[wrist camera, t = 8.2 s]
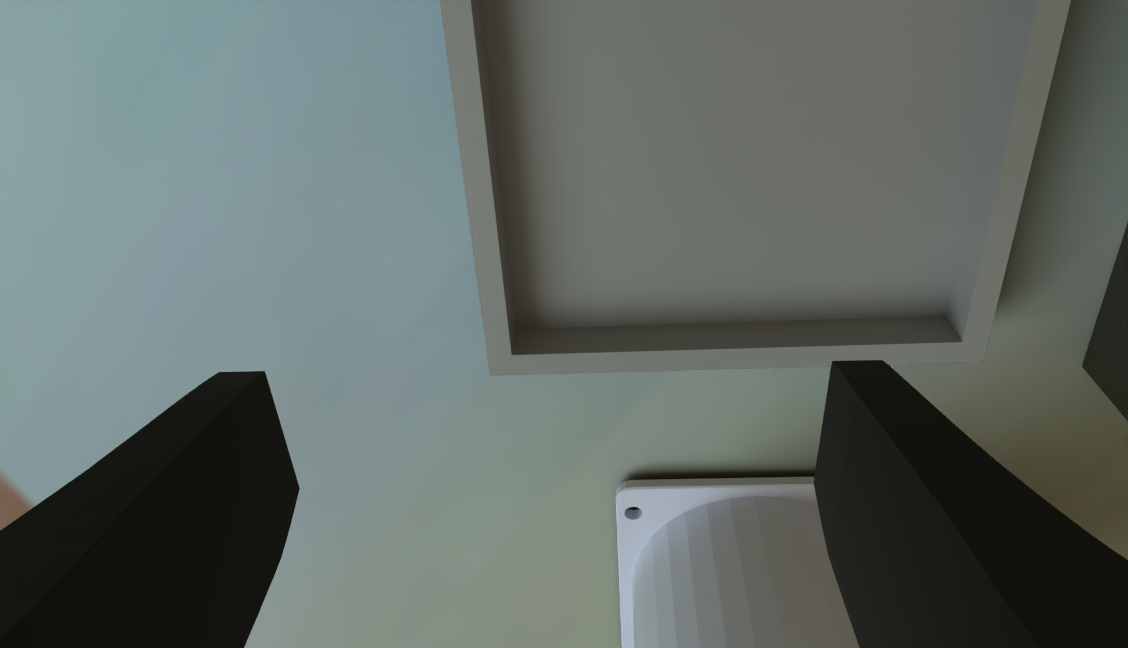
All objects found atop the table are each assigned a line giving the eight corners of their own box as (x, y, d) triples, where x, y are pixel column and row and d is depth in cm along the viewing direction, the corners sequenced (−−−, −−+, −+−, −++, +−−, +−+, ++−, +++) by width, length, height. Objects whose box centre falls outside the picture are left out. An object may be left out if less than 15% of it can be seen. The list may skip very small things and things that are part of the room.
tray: (956, 322, 22) (983, 362, 20) (497, 336, 23) (490, 375, 21) (1076, -231, 16) (1127, -234, 14) (432, -184, 16) (416, -181, 15)
